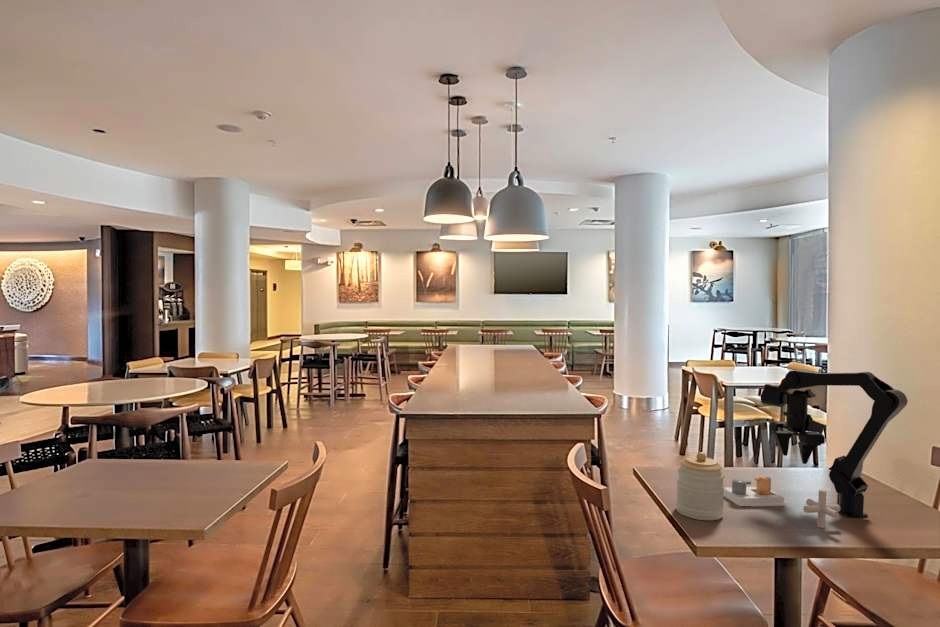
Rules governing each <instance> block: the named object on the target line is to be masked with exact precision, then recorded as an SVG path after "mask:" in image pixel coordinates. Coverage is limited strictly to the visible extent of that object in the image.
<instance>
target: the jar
mask: <svg viewBox="0 0 940 627" xmlns="http://www.w3.org/2000/svg"><path fill="white" fill-rule="evenodd" d="M679 463H680V466H679V467H678V468H676V471H677V473H678V478H677V479H676V500H675V507H676V508H675V509H676V511H677V513H678V514H680V515H682V516H684V517H686V518H690V519H694V520H700V521H717V520H720V519H722V518H723V515H724V512H725V507H724V498H725V497H724V489H725V485H724V479H725V478H726V473H724V472H723V471H722V469H723V466H722V465H721V463H719V462H718V461H717V460H715V459H713V458H710V457H707V455H706V453H704V452H702V451H699V452H697V453H696V456H694V455H693V456H687V457H686V458H684V459H681V460H680V461H679Z"/></svg>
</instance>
